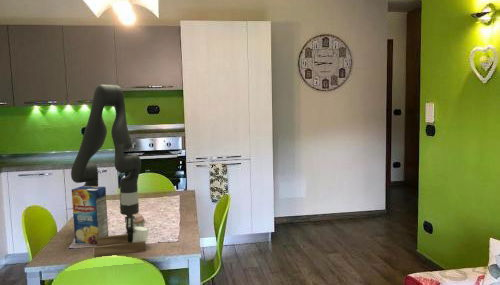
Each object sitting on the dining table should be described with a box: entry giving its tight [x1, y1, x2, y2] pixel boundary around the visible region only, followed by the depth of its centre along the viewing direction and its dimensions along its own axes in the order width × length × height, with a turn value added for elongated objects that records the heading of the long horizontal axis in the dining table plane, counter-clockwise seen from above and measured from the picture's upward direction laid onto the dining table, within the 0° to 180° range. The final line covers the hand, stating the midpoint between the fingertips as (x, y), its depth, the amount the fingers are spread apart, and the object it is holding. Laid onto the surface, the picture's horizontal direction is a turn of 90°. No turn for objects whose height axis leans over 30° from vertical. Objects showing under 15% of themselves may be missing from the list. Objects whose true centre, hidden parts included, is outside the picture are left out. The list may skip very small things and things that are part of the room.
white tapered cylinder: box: [132, 226, 150, 245], centre depth 171 cm, size 7×7×7 cm
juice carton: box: [71, 185, 109, 246], centre depth 177 cm, size 12×8×24 cm, turn 76°
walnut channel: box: [93, 233, 147, 257], centre depth 169 cm, size 13×20×4 cm, turn 105°
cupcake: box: [133, 212, 147, 227], centre depth 189 cm, size 9×9×10 cm
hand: (130, 241), depth 170 cm, fingers closed
